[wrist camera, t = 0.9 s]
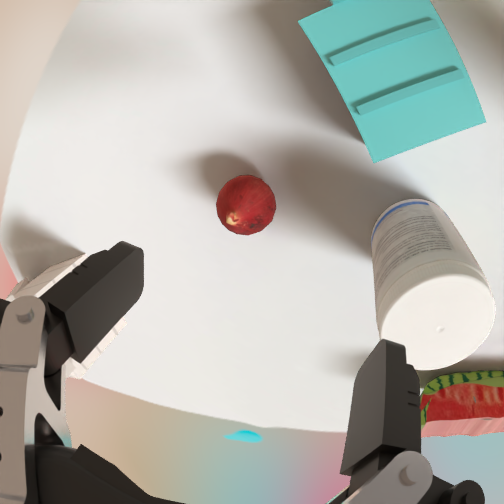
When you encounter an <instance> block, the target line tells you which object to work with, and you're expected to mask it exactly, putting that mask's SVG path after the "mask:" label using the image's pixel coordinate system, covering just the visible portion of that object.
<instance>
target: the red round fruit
mask: <svg viewBox="0 0 504 504" xmlns="http://www.w3.org/2000/svg"><path fill="white" fill-rule="evenodd" d="M216 207H217V214H218V217H219V219H220V221H221V223H222V224H223V225H224V226H225V227H226V228H227V229H228V230H229V231H232V232H234V233H236V234H241V235H250V234H254V233H257V232H260V231H262V230H263V229H264V228H265V227H266V226H267V225H268V224H269V223H270V222H271V221H272V219H273V216H274V213H275V210H276V202H275V196H274V194H273V192H272V190H271V188H270V187H269V185H267V184H266V183H265V182H264V181H263V180H262V179H260V178H257V177H254V176H251V175H240V176H238V177H236V178H234V179H232V180H230V181H228V182H227V183H226V184H225V185H224V187H223V188H222V189H221V191H220V192H219V195H218V199H217V203H216Z"/></svg>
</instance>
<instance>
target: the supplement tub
mask: <svg viewBox="0 0 504 504" xmlns="http://www.w3.org/2000/svg"><path fill="white" fill-rule="evenodd" d="M371 250H372V262H373V274H374V288H375V305H376V320H377V326H378V331H379V336H380V340H381V339H386V340H390V341H393V342H396V343H399V344H402V345H404V346H405V348H406V360H407V364H410V365H413V366H414V369H416V370H434V369H440V368H444V367H448V366H450V365H453V364H455V363H457V362H459V361H461V360H463V359H465V358H466V357H468V356H469V355H470V354H472V353H473V352H474V351H475V350H476V349H477V348H478V347H479V346H480V345H481V344H482V343H483V342H484V341H485V339H486V338H487V336H488V335H489V333H490V331H491V329H492V326H493V323H494V320H495V313H496V308H495V301H494V297H493V295H492V292H491V288H490V285H489V283H488V281H487V279H486V277H485V275H484V273H483V272H482V270H481V268H480V266H479V264H478V263H477V261H476V259H475V257H474V256H473V254H472V252H471V251H470V249H469V247H468V246H467V244H466V243H465V241H464V239H463V238H462V236H461V235H460V233H459V232H458V230H457V229H456V227H455V226H454V224H453V223H452V221H451V220H450V218H449V217H448V215H447V214H446V213H445V212H444V211H443V210H442V209H441V208H440V207H439V206H438V205H436V204H434V203H432V202H430V201H427V200H423V199H407V200H403V201H400V202H397V203H395V204H393V205H392V206H390V207H389V208H387V209H386V210H385V211H384V212H383V213H382V214H381V215H380V217H379V218H378V219H377V221H376V223H375V225H374V228H373V231H372V235H371Z"/></svg>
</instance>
